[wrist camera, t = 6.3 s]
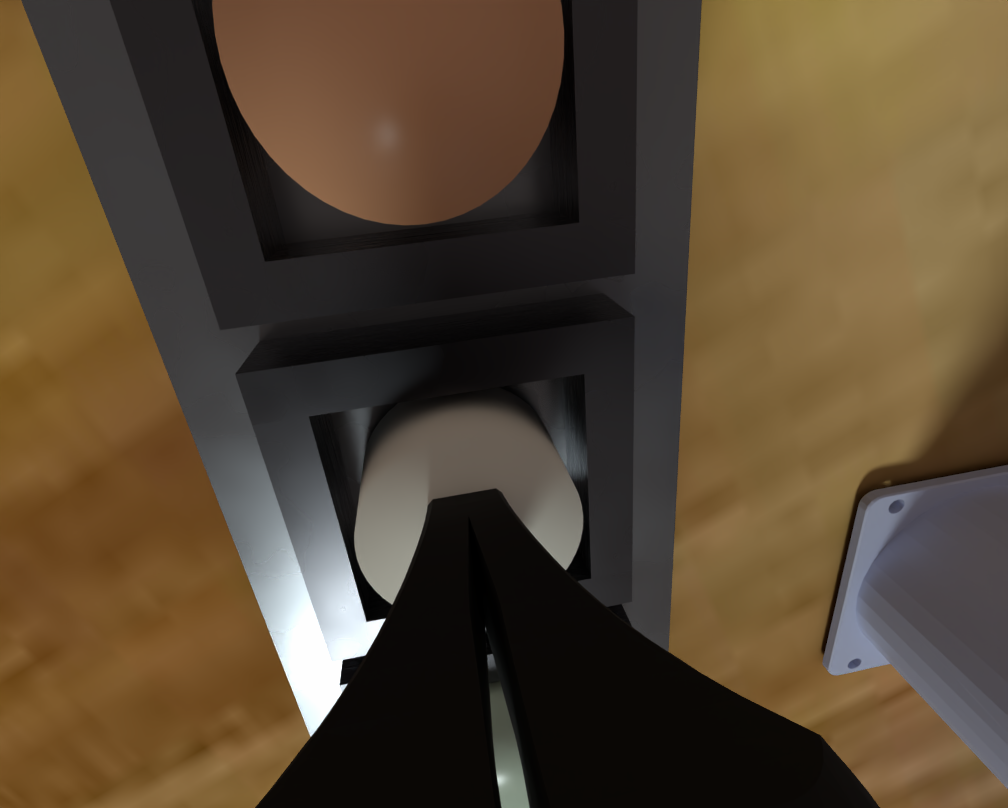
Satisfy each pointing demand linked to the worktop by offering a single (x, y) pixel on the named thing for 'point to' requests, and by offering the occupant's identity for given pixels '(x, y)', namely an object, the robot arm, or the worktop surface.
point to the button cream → (459, 477)
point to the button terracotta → (395, 96)
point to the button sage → (506, 753)
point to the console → (400, 302)
